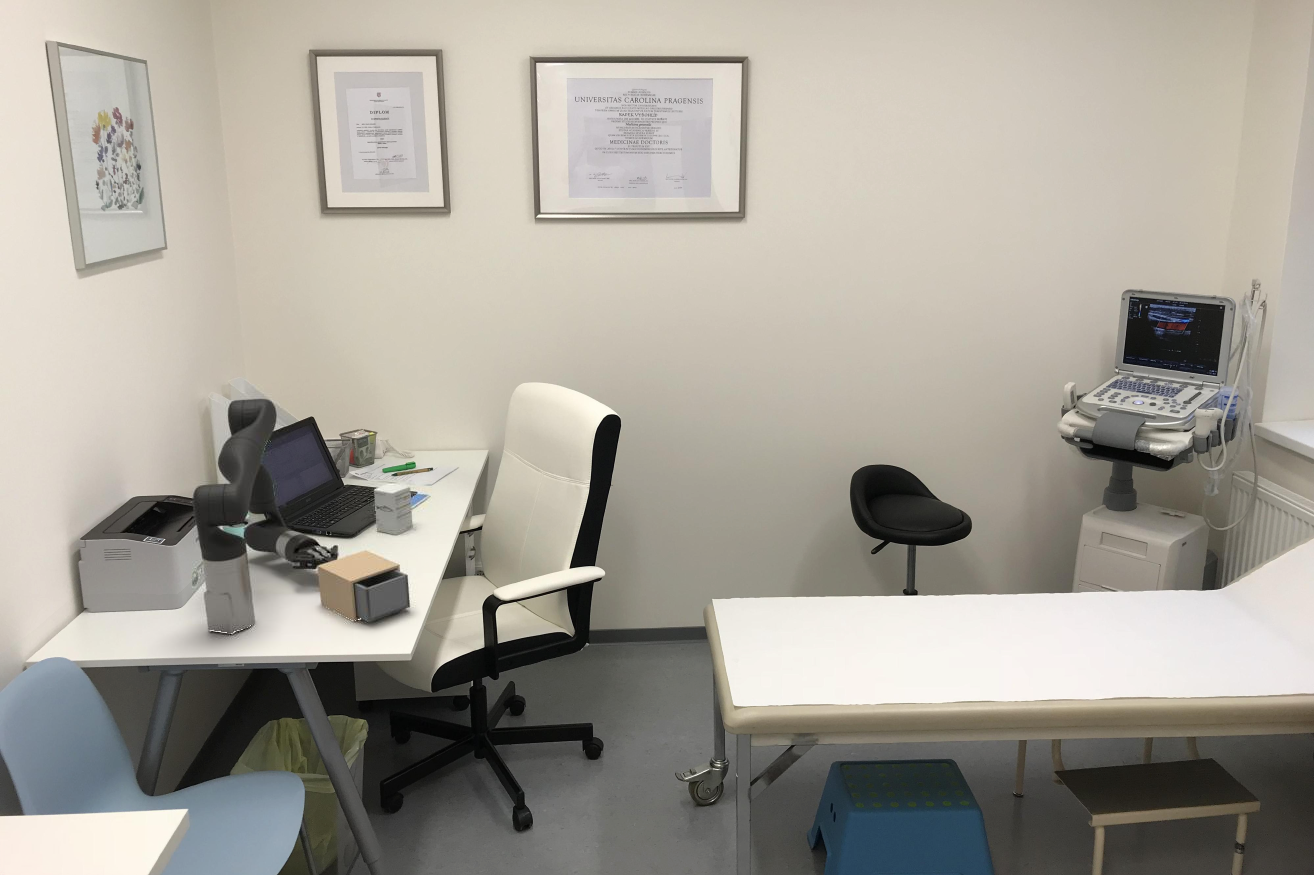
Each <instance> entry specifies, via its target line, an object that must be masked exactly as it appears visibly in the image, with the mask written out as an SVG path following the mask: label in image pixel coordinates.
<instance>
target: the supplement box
mask: <svg viewBox="0 0 1314 875" xmlns="http://www.w3.org/2000/svg"><path fill="white" fill-rule="evenodd" d="M373 496H374V505H375V511H376V514H375V521H376V522H375V524H376V531H377V532H380V533H381V532H382V533H386V534H391V535H394V536H397V535H400V534H402V533H404V532H406V531H408V530H410V529H413V512H412V510H413V509H411V486H410V485H402V484H398V483H392V482H390V483H387V484H384V485H381V486H379V487H377V488H374V490H373Z"/></svg>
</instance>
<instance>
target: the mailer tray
mask: <svg viewBox="0 0 1314 875" xmlns="http://www.w3.org/2000/svg"><path fill="white" fill-rule="evenodd" d="M408 575H409V574H406V573H404V572H402V571H401V570H400V571H397V570H395V569H393V570H390V571H387V572H384V573H381V574H378V575H375V576H372V577H369V578H367V579H364V580H361V581H358V582H355V583H353V587H354V598H355V610H356V616H357V617H359V618H361V620H364V621H366V623H367V622H368V623H371V622H374V621H376V620H380V619H382V618H385V617H387V616H389V615H392V614H395V613H397V612H400V611H403V610H405V609H408V608H411V604H410V602H411V601H410V589H409V588H410V587H409V576H408Z"/></svg>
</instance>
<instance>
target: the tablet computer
mask: <svg viewBox="0 0 1314 875" xmlns="http://www.w3.org/2000/svg"><path fill="white" fill-rule="evenodd" d="M415 494H416V495H415V496H414V497H413V498H412V499H411V509H412V510H413V509H414V508H415V507H417V506H418V505H420V504H421V503H423V502H424V501H426V500H428V499H429V498H430V497H431V496H430V494H427V493H426V494H425V493H415Z"/></svg>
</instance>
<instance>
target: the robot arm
mask: <svg viewBox="0 0 1314 875" xmlns="http://www.w3.org/2000/svg"><path fill="white" fill-rule="evenodd" d="M227 420H228V422H227V423H228V427H229V433H230V437H229V438H228V439H227V440H226V441H225V443H223V445H222V448H221V451H220V453H219V456H218V459H217V466H218V469H219V471H220V473H221V475H222V476H223V477H224V478H225V479H226V481H228V483H216V484H215V483H214V484H202V485H199V486H197V487H196V488H195V489H194V492H193V495H192V508H193V515H194V520H195V525H196V530H197V536H198V542H199V543H198V544H199V547H200V552H201V553H200V554H201V560H202V566H203V574H204V582H205V591H204V592H203V598H204V606H205V613H206V614H205V615H206V622H207V629H208V631H209V630H214V631H221V632H227V633H233V632H234V631H237V630H241V629H245V628H247V627H249V626H250V625H252V624H253V623H254V622H255V623H256V619H255V618H256V615H255V610H254V609H255V608H254V602H253V591H252V584H251V582H252V581H251V575H250V567H249V559H248V558H249V557H248V556H249V555H248V550H247V546H248V547H249V548H251V549H252V550H253V551H256V552H261V553H268V554H269V553H272V554H276V555H278V556H280V557H281V558H282V559H284V560H285V561H287V562H290V563H291V564H292V569H293V570H318V567H317V566H318V565H321V564H324V563H328V562H331V561H334V560H337V559H339V555H340V554H339V545H337V544H335V545H332V547H330V548H328V547H327V546H324V545H323V546H322V545H321V544H320V543H319V542H318V541H317V540H316V539H315V538H313V537H310V536H308V535H306V534H303V533H301V532H299V531H295V530H292V529H290V528H288V527H287V525H286V523H285V521H284V519H283V517H282V515H281V513H280V510H279V508H278V504H277V500H276V499H275V492H274V484H273V480H272V477H271V475H270V473H269V472H268V470H267V469H266V468H265V467H264V465H263V464H262V463H261V461H262V457H263V453H264V450H265V446H266V444H267V442H268V440H269V441H270V439H271V436H272V435H273V433H274V430H275V427H276V424H277V409H276V406H275V404H274V403H273V401H272V400H269V399H268V398H267V399H266V398H252V399H251V398H250V399H236V400H233V401H231V402H230V403H229V406H228V409H227ZM248 513H250V514H252V515H265V516H266V519H262V520H258V521H255V522H252V523H250V524H248V525H247V526H246V527H245V529H244V531H243V537H242V536H240V535H238V534H235V533H230V532H228V531H225V530H223V529H221V528H220V527H227V526H236V525H237V526H238V525H239V524H242V523H244V522H245V521H246V518H247V516H248ZM255 623H254V624H255ZM254 624H253V625H254ZM253 625H252V626H253ZM245 630H246V629H245Z"/></svg>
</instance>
